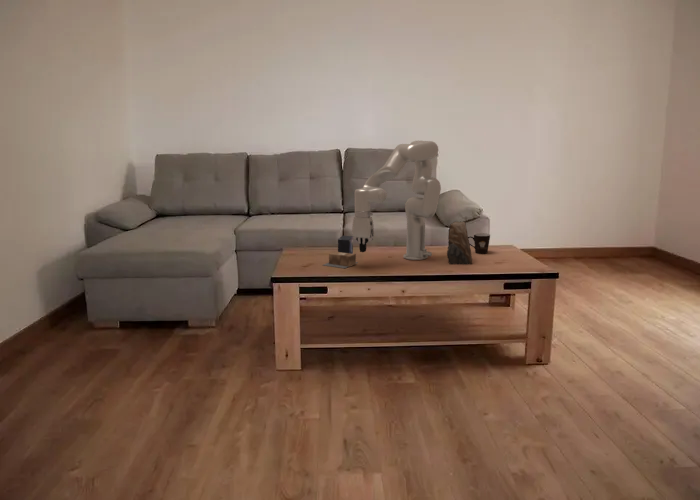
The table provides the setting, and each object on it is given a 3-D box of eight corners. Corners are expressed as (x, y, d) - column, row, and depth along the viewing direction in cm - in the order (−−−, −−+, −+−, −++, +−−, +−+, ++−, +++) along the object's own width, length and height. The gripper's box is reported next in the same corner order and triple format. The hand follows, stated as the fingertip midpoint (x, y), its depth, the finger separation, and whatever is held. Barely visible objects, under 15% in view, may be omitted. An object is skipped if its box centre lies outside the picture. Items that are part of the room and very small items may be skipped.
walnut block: (355, 253, 292) (335, 251, 298) (349, 256, 287) (328, 253, 293) (355, 263, 293) (335, 261, 299) (349, 266, 288) (329, 263, 294)
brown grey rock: (447, 264, 291) (448, 225, 287) (443, 258, 303) (444, 220, 299) (472, 264, 291) (474, 224, 287) (467, 258, 303) (469, 220, 299)
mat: (358, 262, 296) (358, 262, 296) (344, 268, 285) (344, 267, 285) (336, 260, 303) (336, 259, 303) (322, 265, 292) (322, 264, 292)
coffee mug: (491, 252, 317) (492, 233, 315) (486, 255, 310) (487, 236, 308) (471, 249, 323) (471, 231, 321) (465, 252, 316) (466, 234, 314)
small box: (349, 259, 304) (349, 239, 301) (337, 259, 305) (337, 239, 303) (353, 254, 314) (353, 235, 312) (341, 254, 315) (341, 235, 313)
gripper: (379, 214, 281) (380, 251, 285) (353, 212, 289) (353, 248, 293) (372, 216, 275) (372, 254, 279) (345, 214, 283) (345, 251, 287)
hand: (362, 251), depth 286 cm, fingers closed
